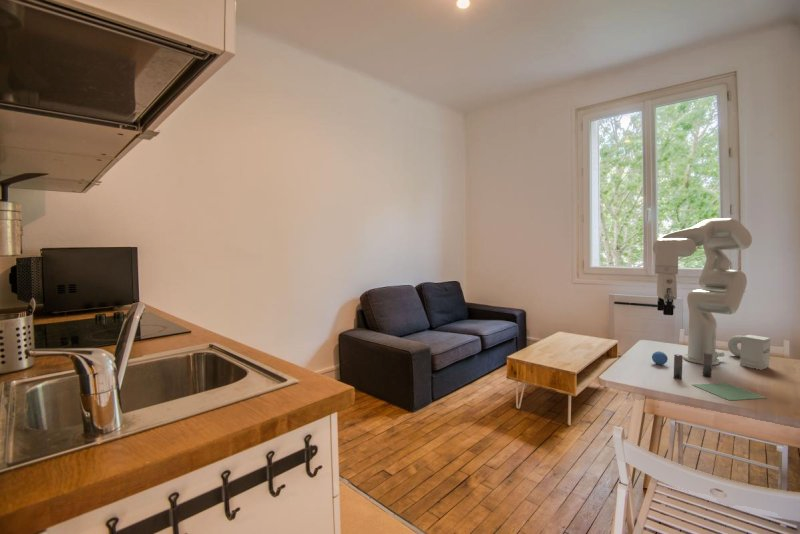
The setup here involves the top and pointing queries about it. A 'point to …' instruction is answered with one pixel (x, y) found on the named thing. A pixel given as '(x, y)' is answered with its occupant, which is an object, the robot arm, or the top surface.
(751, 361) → the supplement box
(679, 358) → the post
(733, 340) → the donut
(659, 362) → the ball
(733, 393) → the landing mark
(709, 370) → the post
